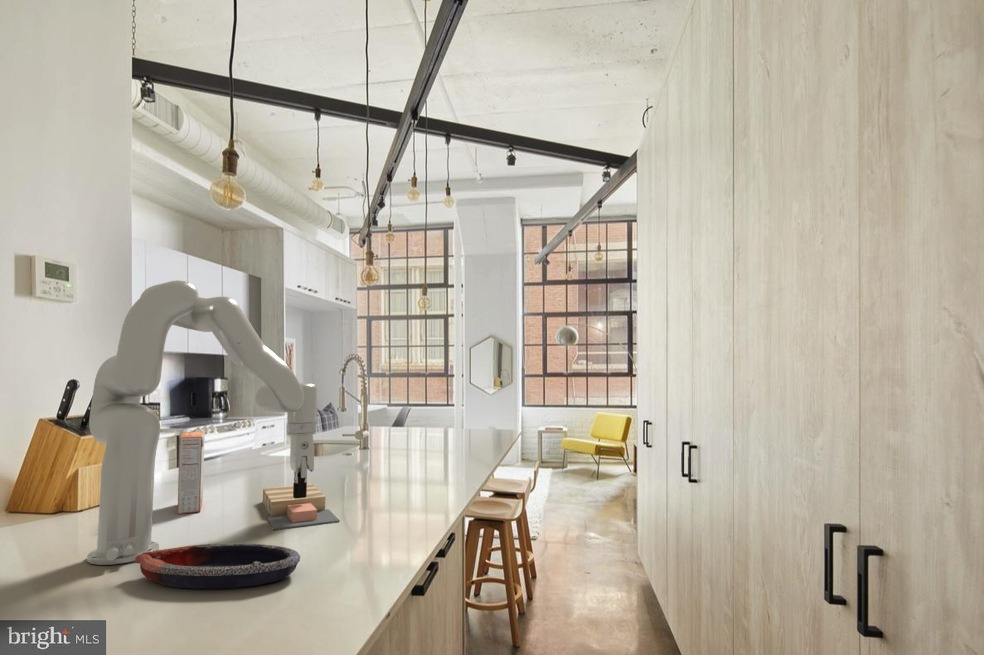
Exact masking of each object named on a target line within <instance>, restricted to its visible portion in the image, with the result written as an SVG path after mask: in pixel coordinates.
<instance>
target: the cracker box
mask: <svg viewBox="0 0 984 655" xmlns="http://www.w3.org/2000/svg"><path fill="white" fill-rule="evenodd" d="M205 435H206V434H205V431H204V430H203V431H185V432H183V433H182V434H181V436H180V437H179V450H178V474H177V475H178V477H177V478H178V479H177V480H178V481H177V482H178V483H177V485H178V486H177V515H184V513H186V514H191V513H200V512H201V510H202V504H203V501H204V500H203V498H204V497H203V495H204V470H205V468H204V467H205Z"/></svg>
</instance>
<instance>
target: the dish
mask: <svg viewBox="0 0 984 655" xmlns="http://www.w3.org/2000/svg"><path fill="white" fill-rule="evenodd" d="M300 561H301V555H300V554H299V552H298V551H296V550H294V549H292V548H288V547H285V546H280V545H273V544H263V543H245V542H244V543H240V542H239V543H238V542H237V543H235V542H234V543H232V542H231V543H226V542H225V543H206V544H204V543H203V544H194V545H187V546H186V545H185V546H179V547H172V548H166V549H165V548H164V549H159V550H157V551H151V552H145V553H142V554H140V555H137V556H136V558H135V561H134V563H135V564H139V565H140V566H139V567H140V571H141V573H142V574H143V576H144V577H145V578H146V579H147V580H150V581H152V582H154V583H157V584H160V585H163V586H167V587H171V588H178V589H179V588H181V589H194V590H195V589H196V590H197V589H199V590H216V589H217V590H222V588H225V589H236V588H237V587H240V588H247V587H248V586H249V587H255V586H262V585H267V584H270V583H274V582H276V581H280V580H281V581H282V580H284V579H286V578H288V577H290V576H291V575H292V573H293V572H294V571H295V570H296V569H297V566H298V564H299V562H300ZM249 587H248V588H249ZM237 589H238V588H237Z"/></svg>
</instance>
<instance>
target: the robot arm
mask: <svg viewBox="0 0 984 655" xmlns="http://www.w3.org/2000/svg"><path fill="white" fill-rule="evenodd" d="M172 326H176V327H180V328H183V329H188V330H191V331H196V332H203V333H210V332H211V333H212V334H213V336H214V337H215V338H216V340H217V341H218V343H219V344H220V346H221V347H222V349H223V350H224V351H225V353H226V355H227V356H228V357H229V359H230V360H231V362H232V363H233V364H234V365H236V366H237V367H239V368H241V369H242V370H245V371H247V372H249V373H251V374H253V375H254V376H255V377H257V378H258V379H260V381H262V382H263V383H264V385H262V386H260V387H259V388H258V389H257V390H256V393H255V397H254V398H255V399H254V400H255V402H256V404H257V406H258V407H259V408H260V409H262V410H264V411H265V412H266V411H267V412H273V413H286V414H287V417H286V420H287V421H286V422H287V423H286V436H290V446H289V447H290V450H289V451H290V452H289V453H290V454H289V455H290V456H289V460H290V461H289V465H290V466H289V467H290V469H291V470H292V471H293V483H292V484H293V485H292V486H293V497H294V498H295V499H296V498H305V497H306V495H307V484H308V481H307V477H308V471H309V472H311V473H312V472H314V470H315V451H314V450H315V447H314V435H316V434H317V408H318V405H317V404H318V403H317V402H318V398H317V397H318V388H317V386H316V385H315V384H314V383H309V382H308V383H303V382H301V383H300V381H299V379H298V378H297V377H296V375H295V373H294V372H293V370H292V369H291V368H290V366H289V365H287V363H286V362H285V361H284V360H283V359H281V358H280V357H279V356H278V355H277V354H276V353H275V352H273V351H272V350H271V349H270V348H269V347H268V346H266V345H265V343H264V342H263V341H262V339H261V337H260V336H259V334H258V333H257V332H256V329H254V327H253V325H252V323H251V322H250V321H249V319H248V317H247V315H246V314H245V312H244V311H243V310H242V308H241V306H240V305H239V304H238V302H237V301H236V300H235V299H233V298H231V297H228V296H214V297H208V298H206V297H200V296H199V292H198V289H197V288H196V287H195V285H193V284H192V283H190V282H188V281H185V280H176V279H175V280H171V281H166V282H163V283H159V284H154V285H152V286H149V287H148V288H146V289H144V291H142V293H141V294H140V297H139V298H138V299H137V301H135V303H133V305H132V306H131V307H130V309H129V310H128V312H127V314H126V316H125V317H124V320H123V323H122V327H121V329H120V330H121V332H120V337H119V341H118V346H117V352H116V354H115V355H113V356H111V357H109V358H107V359H106V360H105V361H103V362H102V364H101V365H100V366H99V368H98V370H97V373H96V374H95V379H94V385H93V390H92V397H91V404H90V412H89V420H88V424H89V431H90V433H91V436H92V438H94V440H96V441H97V442H99V443H100V444H102V445H105V449H104V453H103V458H102V463H101V468H100V487H99V490H100V492H99V510H98V525H97V528H98V529H97V540H96V541H97V542H96V543H97V544H96V548H95V549H94V550H91V551H90V552H89V553H87V555H86V561H87V563H89V564H92V565H97V566H111V565H121V564H126V563H133V562H135V558H136V556H137V555H140V554H142V553H145V552H151V551H157V550H160V544H159V543H158V542H155V541H152V530H153V529H152V526H153V508H154V488H155V465H156V464H155V462H156V456H157V450H158V449H157V448H158V444H159V441H160V435H161V421H160V419H159V416H158V414H157V413H156V412H155V411H154V410H153V409H151V407H148V406H146V405H144V404H141V399H142V397H146V396H149V395H150V394H152V393H154V392H155V391H156V390H157V388H159V384H160V382H161V378H162V371H163V370H162V369H163V368H162V367H163V362H164V361H163V360H164V353H165V347H166V346H165V344H166V340H167V336H168V333H169V330H171V327H172Z"/></svg>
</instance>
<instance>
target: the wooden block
mask: <svg viewBox="0 0 984 655" xmlns="http://www.w3.org/2000/svg"><path fill="white" fill-rule="evenodd" d="M262 503H263V505H264V507H265V510H266V511H267V513H268V515H269V516H275V515H284V514H287V505H293V504H302V503H311V504H312V505H313V506H314V507H315V508H316V509H317V511H319V510H326V495H325V494H324V493H322V492H321V491H320V490H319V489H318V488H317V487H316V486H315V485H313V484H312V483H307V495H306V497H305V498H296V499H295V498H294V497H293V485H285V486H284V485H282V486H273V487H262Z"/></svg>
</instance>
